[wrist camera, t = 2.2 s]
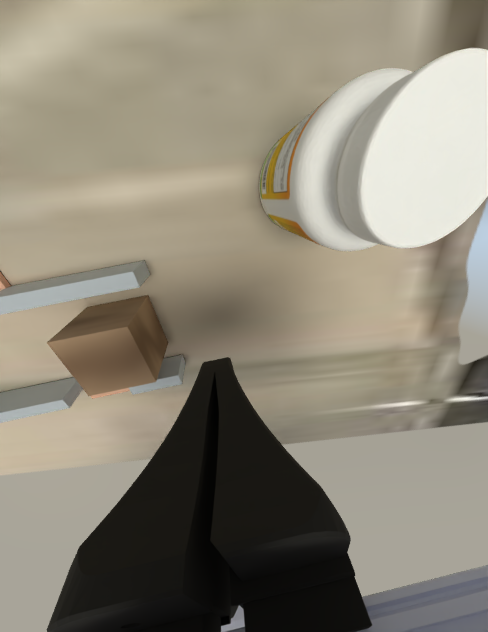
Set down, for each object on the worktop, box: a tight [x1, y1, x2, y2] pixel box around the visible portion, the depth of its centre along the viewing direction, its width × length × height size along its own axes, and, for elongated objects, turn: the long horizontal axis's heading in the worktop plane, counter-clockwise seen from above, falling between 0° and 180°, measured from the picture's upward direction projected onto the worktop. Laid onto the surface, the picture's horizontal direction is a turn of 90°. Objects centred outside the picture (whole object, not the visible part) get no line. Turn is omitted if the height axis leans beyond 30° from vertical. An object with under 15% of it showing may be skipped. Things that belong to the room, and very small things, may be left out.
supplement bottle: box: [259, 48, 488, 251], centre depth 9 cm, size 5×5×10 cm
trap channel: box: [0, 260, 185, 423], centre depth 16 cm, size 12×18×2 cm
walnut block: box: [47, 295, 168, 396], centre depth 15 cm, size 4×4×4 cm
